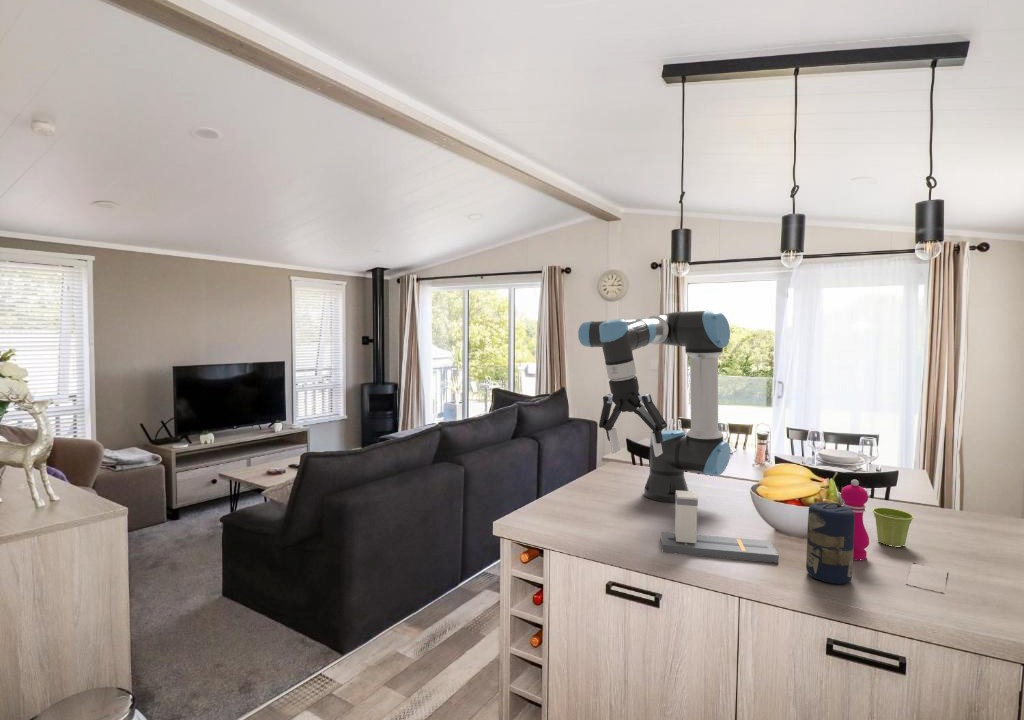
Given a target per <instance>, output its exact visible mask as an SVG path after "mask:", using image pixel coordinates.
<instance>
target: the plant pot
mask: <svg viewBox="0 0 1024 720" xmlns="http://www.w3.org/2000/svg"><path fill="white" fill-rule="evenodd" d="M871 511H872V513H873V516H874V518H875V525H876V535H877V536H876V537H877V542H878V541H879V542H881V543H883V544H882V545H885V544H886V545H885V546H887V545H892V546H903V545H905V546H906V542H907V537H908V532H909V529H910V525H911V523H912V521H913V520H914V518H915V516H914V515H913V514H912V513H910V512H907V511H904V510H900V509H896V508H891V507H890V508H889V507H875V508H874V507H873V508H872V510H871ZM879 542H878V543H879ZM881 543H880V544H881Z"/></svg>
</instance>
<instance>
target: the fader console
mask: <svg viewBox="0 0 1024 720" xmlns="http://www.w3.org/2000/svg"><path fill="white" fill-rule="evenodd" d="M660 533H661V534H660V536H661V537H660V538H661V541H662V542H661V547H662V548H661V549H662V550H663V551H662V553H663V552H665V554H673V553H677V554H676V555H685V554H686V555H687V556H696V557H706V558H707V557H708V558H718V559H730V560H739V559H740V561H750V560H751V562H761V561H762V562H763V563H772V562H774V564H775V563H776V564H779V559H780V557H779V554H778V552H777V550H776V549H775V547H774V545H773V544H772V542H771V541H770V540H765V539H764V540H763V539H752V538H740V537H728V536H716V535H704V534H696V543H687V542H676V537H675V532H667V531H666V532H665V531H660ZM686 555H685V556H686Z"/></svg>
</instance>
